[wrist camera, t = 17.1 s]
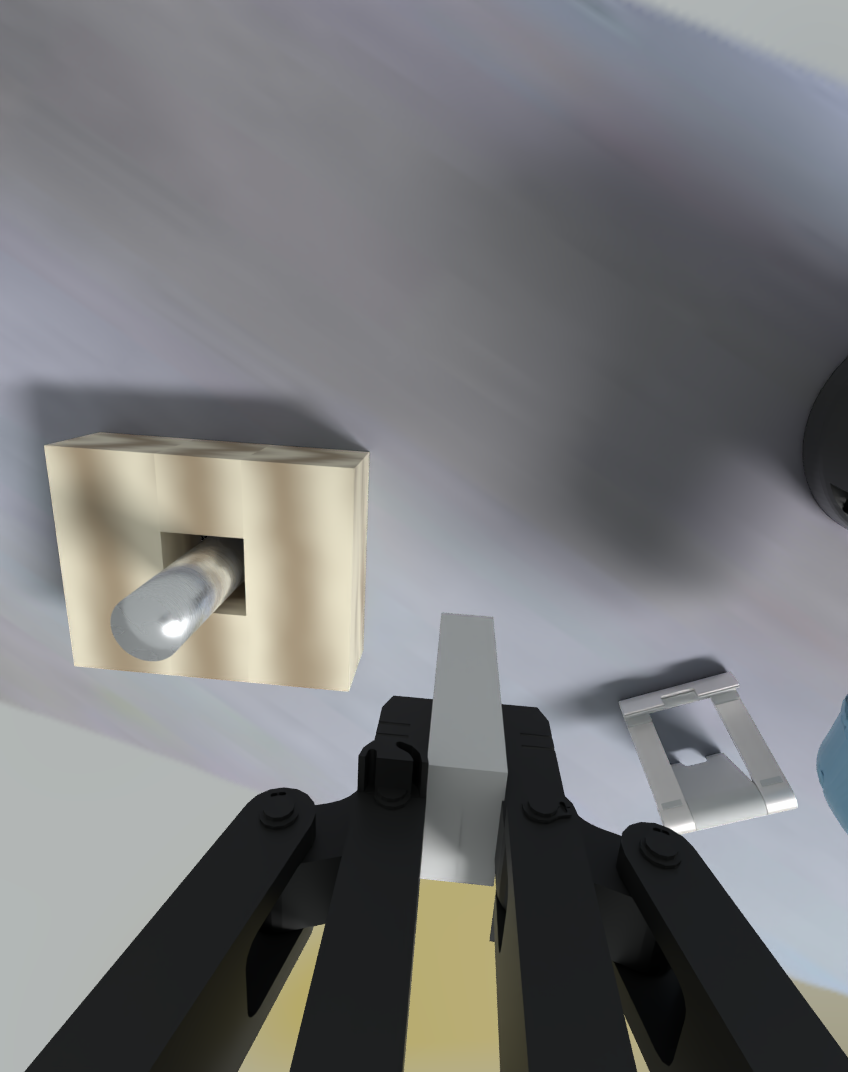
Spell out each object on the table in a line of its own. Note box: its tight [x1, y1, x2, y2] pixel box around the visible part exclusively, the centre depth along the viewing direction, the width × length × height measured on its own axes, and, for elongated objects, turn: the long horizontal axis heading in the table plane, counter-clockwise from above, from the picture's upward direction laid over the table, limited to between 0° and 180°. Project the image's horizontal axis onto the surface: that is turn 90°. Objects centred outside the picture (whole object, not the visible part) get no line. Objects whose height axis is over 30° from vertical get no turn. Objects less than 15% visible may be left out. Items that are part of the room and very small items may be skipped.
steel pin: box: [110, 536, 245, 661], centre depth 39 cm, size 4×4×14 cm
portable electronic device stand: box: [619, 672, 798, 835], centre depth 44 cm, size 9×8×8 cm
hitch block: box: [44, 432, 370, 692], centre depth 43 cm, size 20×16×6 cm
